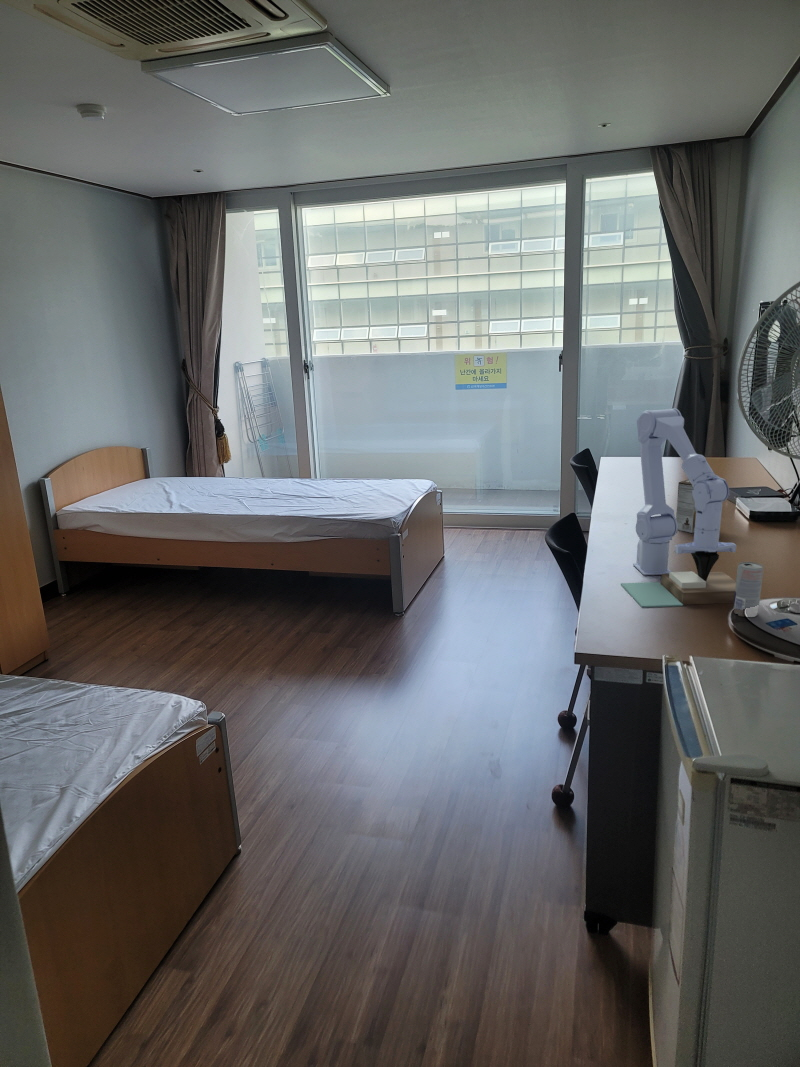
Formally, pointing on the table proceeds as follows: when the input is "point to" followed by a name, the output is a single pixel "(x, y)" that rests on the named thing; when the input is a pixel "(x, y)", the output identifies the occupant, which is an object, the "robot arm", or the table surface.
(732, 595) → the block
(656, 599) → the teal mat
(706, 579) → the robot arm
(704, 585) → the cream tile
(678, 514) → the coffee box
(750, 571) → the energy drink
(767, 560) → the table surface
